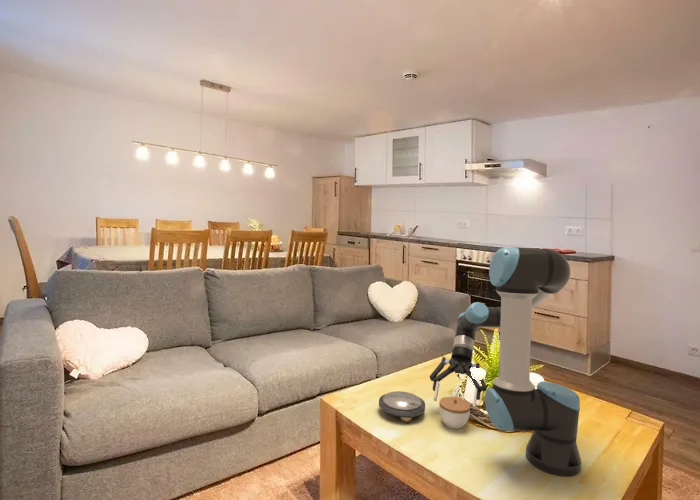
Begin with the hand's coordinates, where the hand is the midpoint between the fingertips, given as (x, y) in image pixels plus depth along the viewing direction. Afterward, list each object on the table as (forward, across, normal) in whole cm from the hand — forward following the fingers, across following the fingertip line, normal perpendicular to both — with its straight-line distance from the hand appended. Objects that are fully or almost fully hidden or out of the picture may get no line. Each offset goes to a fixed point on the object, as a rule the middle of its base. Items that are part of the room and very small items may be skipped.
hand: (454, 403), depth 148 cm
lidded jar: (+6, 0, -4) cm, 7 cm away
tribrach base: (+6, +19, -4) cm, 20 cm away
